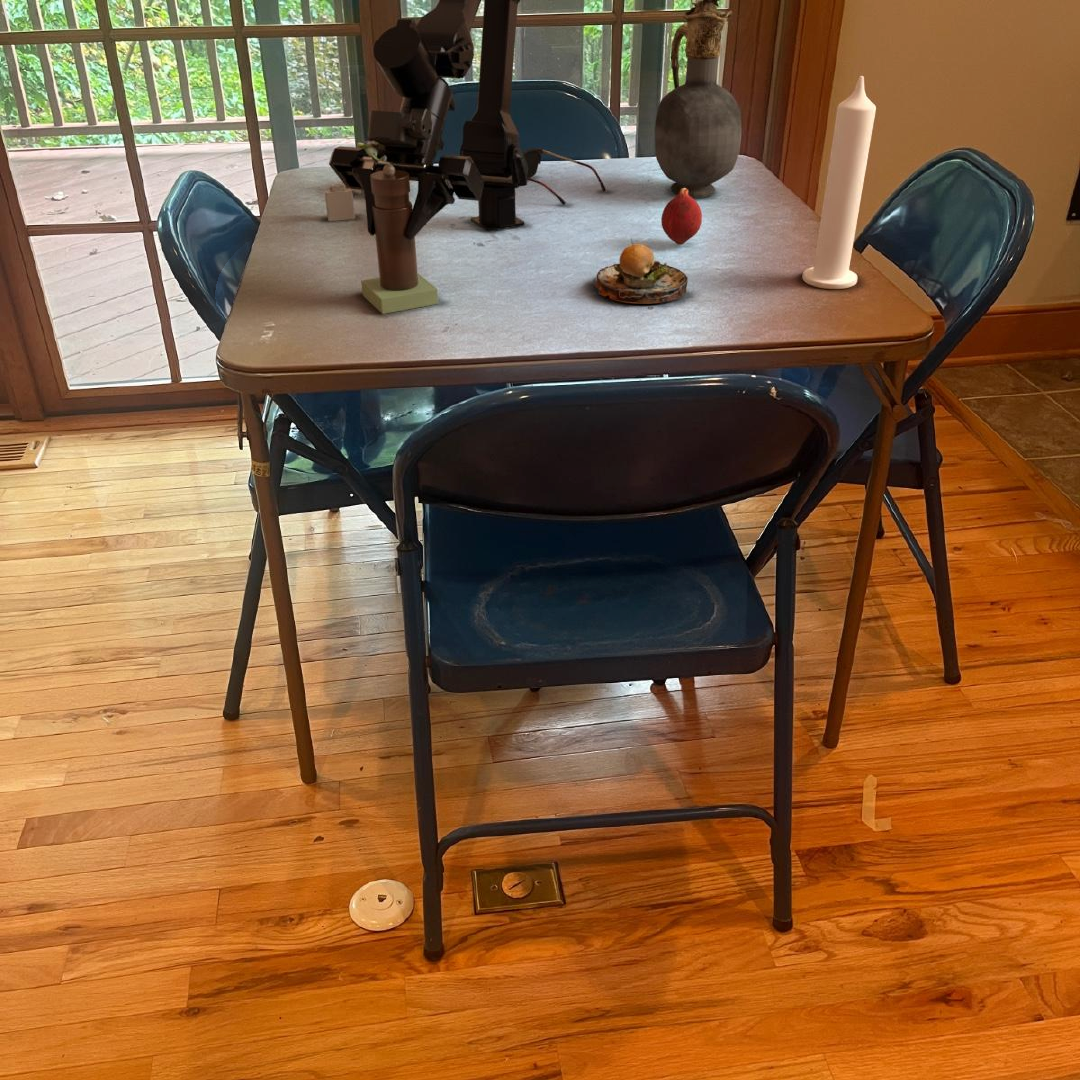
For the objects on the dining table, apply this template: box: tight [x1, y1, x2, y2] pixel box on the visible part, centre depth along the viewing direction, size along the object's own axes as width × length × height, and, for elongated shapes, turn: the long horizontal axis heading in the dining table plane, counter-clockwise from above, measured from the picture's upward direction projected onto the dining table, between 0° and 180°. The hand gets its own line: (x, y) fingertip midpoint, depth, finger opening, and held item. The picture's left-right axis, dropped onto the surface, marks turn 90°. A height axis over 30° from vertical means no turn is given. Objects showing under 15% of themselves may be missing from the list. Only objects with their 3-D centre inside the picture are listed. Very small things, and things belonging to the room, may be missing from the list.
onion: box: [660, 188, 703, 246], centre depth 144 cm, size 6×6×8 cm
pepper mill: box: [370, 164, 419, 291], centre depth 123 cm, size 5×5×15 cm
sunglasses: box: [522, 147, 607, 206], centre depth 170 cm, size 14×16×5 cm
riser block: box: [360, 273, 439, 315], centre depth 128 cm, size 8×8×2 cm
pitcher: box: [654, 0, 743, 199], centre depth 162 cm, size 11×19×30 cm, turn 17°
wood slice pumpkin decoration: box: [594, 238, 689, 305], centre depth 129 cm, size 12×12×8 cm
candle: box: [801, 75, 877, 290], centre depth 126 cm, size 7×7×25 cm
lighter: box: [324, 182, 363, 222], centre depth 156 cm, size 7×2×8 cm, turn 106°
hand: (389, 235), depth 122 cm, fingers closed on pepper mill, 5 cm apart
